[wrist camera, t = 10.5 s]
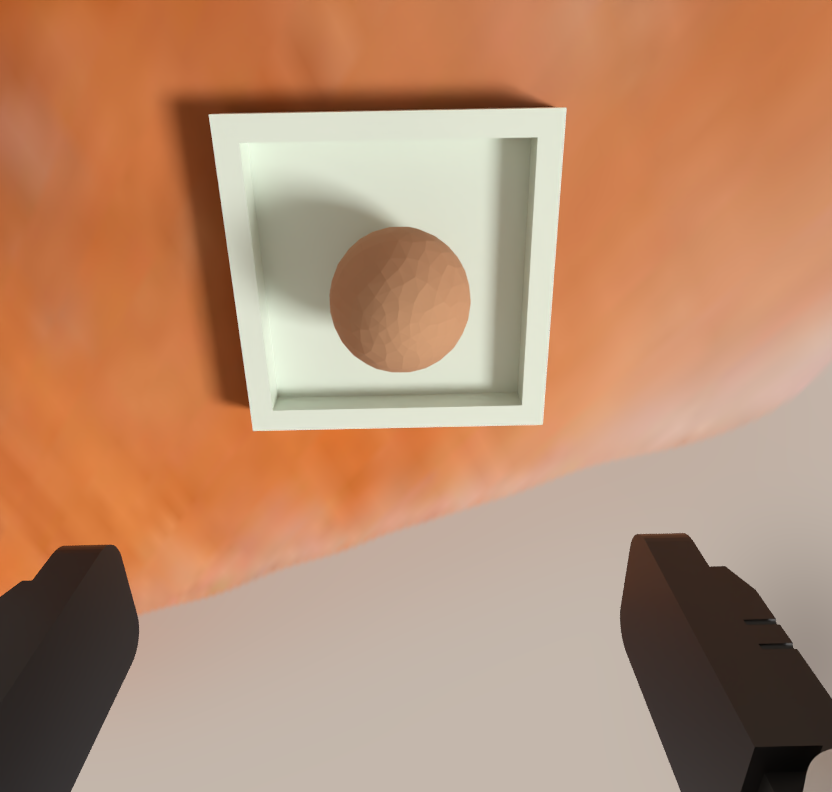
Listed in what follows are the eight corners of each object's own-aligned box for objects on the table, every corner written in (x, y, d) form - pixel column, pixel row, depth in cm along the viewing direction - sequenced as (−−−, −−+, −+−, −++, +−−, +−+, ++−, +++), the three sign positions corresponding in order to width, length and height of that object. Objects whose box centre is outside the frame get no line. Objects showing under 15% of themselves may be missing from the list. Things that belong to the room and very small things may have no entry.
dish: (222, 113, 25) (208, 114, 24) (555, 106, 26) (566, 107, 24) (261, 411, 31) (253, 430, 29) (534, 405, 31) (542, 424, 29)
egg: (311, 273, 28) (283, 326, 21) (405, 185, 26) (405, 214, 20) (396, 360, 29) (394, 433, 23) (488, 282, 28) (513, 337, 22)
